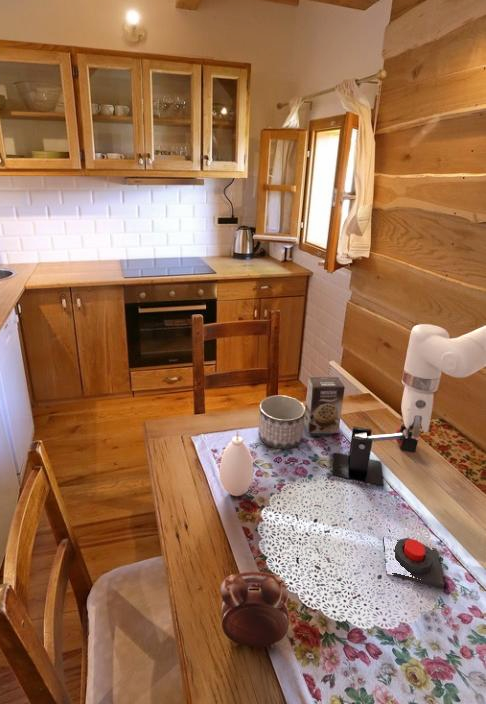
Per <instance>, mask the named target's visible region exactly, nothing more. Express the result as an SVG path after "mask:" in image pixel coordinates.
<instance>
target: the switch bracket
mask: <svg viewBox="0 0 486 704" xmlns="http://www.w3.org/2000/svg"><path fill="white" fill-rule="evenodd" d="M365 432H366V433H367V436H372V432H373V431H372V429H371V428H366V427H360V426H352V432H351V439H350V445H349V452H348V454H344V453H338V452H333V457H332V474H331V476H332V477H336V478H341V479H345V480H350V481H355V482H356V481H357V482H360V483H364V484H370V485H375V486H379V487H384V479H383V470H382V462H381V460H376V459H371V458H370V457H371V452H372V446H373V441H372V439H370V438H364V437H359V436H355V433H365Z"/></svg>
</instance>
